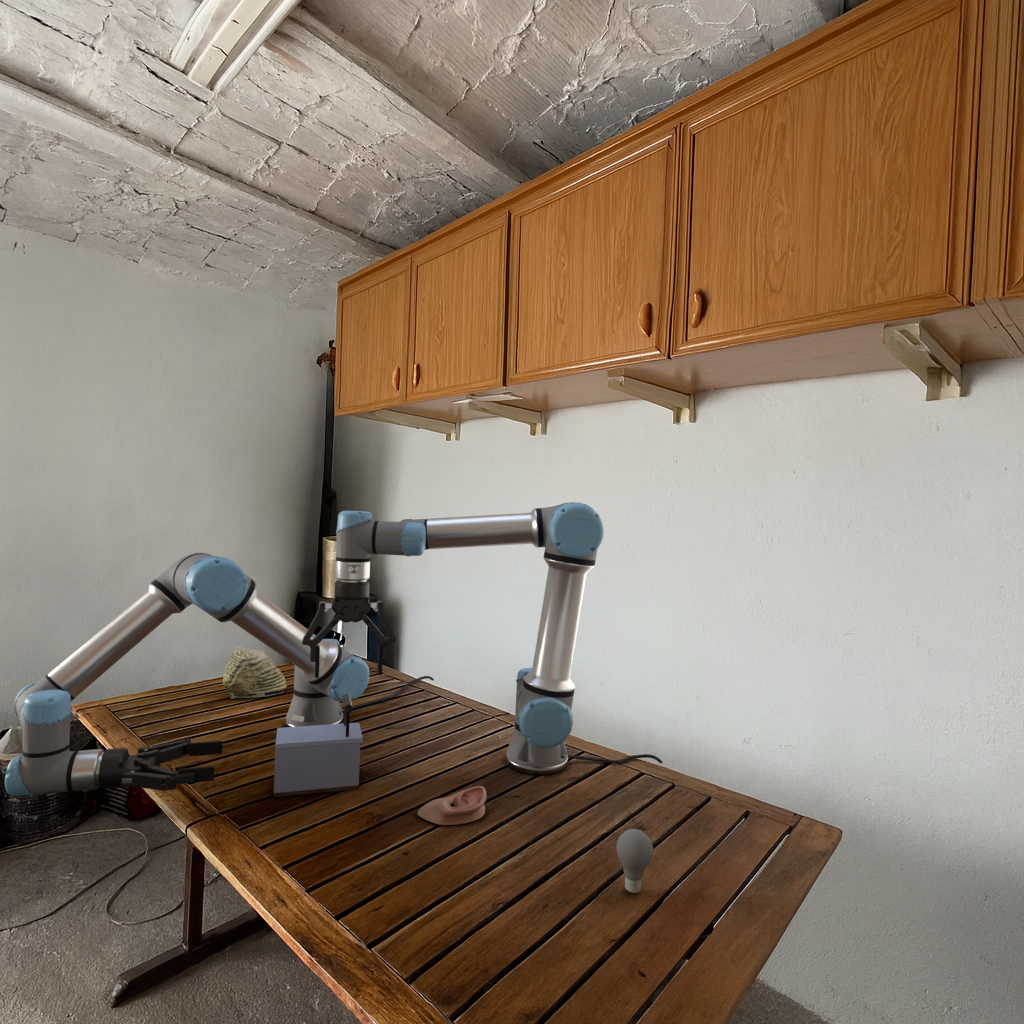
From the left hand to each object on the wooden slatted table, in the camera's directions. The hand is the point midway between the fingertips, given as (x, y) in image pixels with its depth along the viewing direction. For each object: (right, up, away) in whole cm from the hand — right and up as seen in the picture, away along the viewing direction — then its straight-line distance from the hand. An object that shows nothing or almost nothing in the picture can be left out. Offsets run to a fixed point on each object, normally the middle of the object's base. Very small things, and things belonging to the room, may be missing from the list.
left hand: (218, 759), depth 134 cm
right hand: (+25, +16, +8) cm, 31 cm away
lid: (+19, +2, +6) cm, 20 cm away
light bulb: (+82, -11, -28) cm, 87 cm away
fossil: (-19, -5, +64) cm, 67 cm away
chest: (+19, -8, +6) cm, 21 cm away
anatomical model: (+50, -9, -4) cm, 51 cm away
